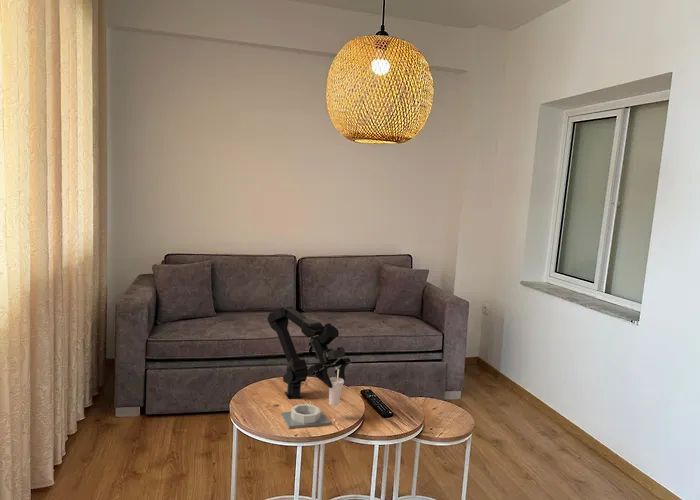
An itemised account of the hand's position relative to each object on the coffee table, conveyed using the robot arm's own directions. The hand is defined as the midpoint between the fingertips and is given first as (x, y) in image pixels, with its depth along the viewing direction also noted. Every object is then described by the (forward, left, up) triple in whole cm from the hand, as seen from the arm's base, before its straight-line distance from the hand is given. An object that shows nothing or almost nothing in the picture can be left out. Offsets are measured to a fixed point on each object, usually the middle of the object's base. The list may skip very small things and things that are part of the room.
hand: (337, 386), depth 199 cm
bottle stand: (-2, -12, -13) cm, 18 cm away
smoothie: (-1, 0, -8) cm, 8 cm away
